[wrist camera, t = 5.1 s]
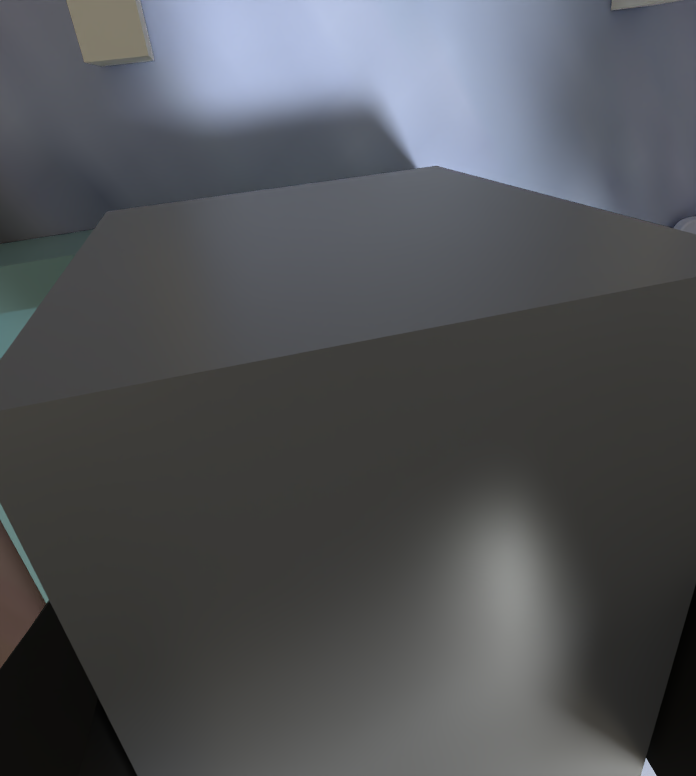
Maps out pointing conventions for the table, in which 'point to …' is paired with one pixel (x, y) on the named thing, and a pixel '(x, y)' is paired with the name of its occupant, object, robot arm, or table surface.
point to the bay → (130, 36)
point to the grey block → (365, 477)
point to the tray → (30, 305)
